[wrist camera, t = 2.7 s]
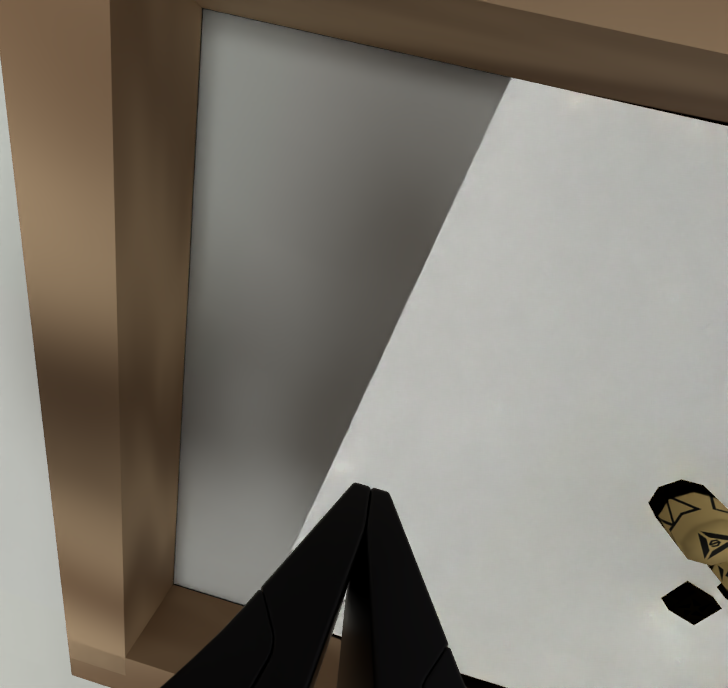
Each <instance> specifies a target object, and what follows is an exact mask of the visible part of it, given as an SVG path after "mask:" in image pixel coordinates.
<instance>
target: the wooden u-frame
mask: <svg viewBox="0 0 728 688" xmlns="http://www.w3.org/2000/svg"><path fill="white" fill-rule="evenodd" d="M202 8H206V9H210V10H215V11H219V12H223V13H228V14H232V15H237V16H241V17H246V18H250V19H254V20H259V21H263V22H268V23H272V24H277V25H281V26H286V27H290V28H294V29H299V30H303V31H308V32H312V33H317V34H321V35H326V36H330V37H334V38H339V39H343V40H348V41H352V42H357V43H361V44H365V45H370V46H374V47H379V48H383V49H388V50H392V51H397V52H401V53H405V54H410V55H414V56H419V57H423V58H428V59H432V60H437V61H441V62H445V63H450V64H454V65H459V66H463V67H468V68H472V69H476V70H481V71H485V72H490V73H494V74H499V75H503V76H508V77H512V78H516V79H521V80H525V81H530V82H534V83H539V84H543V85H548V86H552V87H556V88H561V89H565V90H570V91H574V92H579V93H583V94H587V95H592V96H596V97H601V98H605V99H610V100H614V101H619V102H623V103H627V104H632V105H636V106H641V107H645V108H650V109H654V110H659V111H663V112H667V113H672V114H676V115H681V116H685V117H690V118H694V119H699V120H703V121H707V122H712V123H716V124H721V125H725V126H728V0H0V57H1V65H2V74H3V83H4V91H5V100H6V109H7V117H8V126H9V135H10V143H11V152H12V161H13V169H14V178H15V187H16V195H17V204H18V213H19V221H20V230H21V239H22V247H23V256H24V265H25V273H26V282H27V291H28V299H29V308H30V317H31V325H32V334H33V343H34V351H35V360H36V369H37V377H38V386H39V395H40V403H41V412H42V421H43V429H44V438H45V447H46V455H47V464H48V473H49V481H50V490H51V499H52V507H53V516H54V525H55V533H56V542H57V551H58V559H59V568H60V577H61V585H62V594H63V603H64V611H65V620H66V629H67V637H68V646H69V655H70V663H71V672H72V675H74V676H77V677H80V678H83V679H86V680H89V681H92V682H95V683H98V684H102V685H105V686H108V687H111V688H160V687H161V686H162V685H163V684H165V683H166V682H167V681H168V680H169V679H170V678H171V677H172V676H173V675H174V674H176V673H177V672H178V671H179V670H180V669H181V668H182V667H183V666H184V665H185V664H187V663H188V662H189V661H190V660H191V659H192V658H193V657H194V656H195V655H196V654H197V653H198V652H199V651H201V650H202V649H203V648H204V647H205V646H206V645H207V644H208V643H209V642H210V641H211V640H212V639H213V638H214V637H215V636H216V635H217V634H218V633H219V632H220V631H221V630H222V629H223V628H224V627H225V626H226V625H227V624H228V623H229V622H230V621H231V620H232V619H233V618H234V617H235V616H236V614H237V613H238V612H239V611H240V610H241V609H242V608H243V607H244V606H241V605H238V604H234V603H231V602H228V601H225V600H221V599H218V598H215V597H212V596H208V595H205V594H202V593H199V592H196V591H192V590H189V589H186V588H183V587H179V586H176V585H173V575H174V555H175V535H176V515H177V495H178V475H179V456H180V436H181V416H182V396H183V376H184V356H185V336H186V317H187V297H188V277H189V257H190V237H191V217H192V197H193V178H194V158H195V138H196V118H197V98H198V78H199V58H200V39H201V19H202ZM341 639H342V637H341V636H338V635H335V634H332V636H331V639H330V642H329V645H328V648H327V651H326V654H325V656H324V659H323V662H322V665H321V668H320V671H319V674H318V677H317V680H316V683H315V686H314V688H337V679H338V669H339V659H340V649H341ZM460 674H461V673H460ZM461 677H462V679H463V681H464V684H465V686H466V688H506V687H503V686H500V685H497V684H493V683H490V682H487V681H484V680H480V679H477V678H474V677H471V676H468V675H464V674H461Z"/></svg>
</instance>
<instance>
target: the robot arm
mask: <svg viewBox="0 0 728 688" xmlns="http://www.w3.org/2000/svg"><path fill="white" fill-rule="evenodd" d="M346 590H347V593H346ZM345 593H346V601H345V610H344V619H343V629H342V639H341V649H340V659H339V669H338V679H337V688H466V686H465V684H464V681H463V679H462V677H461V674H460V672H459V669H458V667H457V664H456V662H455V659H454V656H453V654H452V651H451V649H450V648H448V641H447V639H446V636H445V634H444V631H443V629H442V626H441V624H440V621H439V618H438V616H437V613H436V611H435V608H434V606H433V603H432V601H431V598H430V595H429V593H428V590H427V588H426V585H425V583H424V580H423V578H422V575H421V573H420V570H419V567H418V565H417V562H416V560H415V557H414V555H413V552H412V550H411V547H410V544H409V542H408V539H407V537H406V534H405V532H404V529H403V527H402V524H401V521H400V519H399V516H398V514H397V511H396V509H395V506H394V504H393V501H392V498H391V496H390V494H389V493H388V492H387V491H383V490H380V489H376V488H372V489H370V487H369V486H366V485H362V484H359V483H353V484H352V485H351V486H350V487H349V488H348V490H347V491H346V492H345V493H344V494H343V495H342V496H341V497H340V499H339V500H338V501H337V502H336V503H335V504H334V505H333V507H332V508H331V509H330V510H329V511H328V512H327V513H326V514H325V516H324V517H323V518H322V519H321V520H320V521H319V522H318V524H317V525H316V526H315V527H314V528H313V529H312V530H311V531H310V533H309V534H308V535H307V536H306V537H305V538H304V539H303V541H302V542H301V543H300V544H299V545H298V546H297V547H296V548H295V550H294V551H293V552H292V553H291V554H290V555H289V556H288V558H287V559H286V560H285V561H284V562H283V563H282V564H281V565H280V567H279V568H278V569H277V570H276V571H275V572H274V573H273V575H272V576H271V577H270V578H269V579H268V580H267V581H266V582H265V584H264V585H263V586H262V587H261V590H258V591H257V592H256V593H255V595H254V596H253V597H252V598H251V599H250V600H249V601H248V603H247V604H246V605H245V606H244V607H243V608H242V609H241V610H240V611H239V612H238V613H237V614H236V616H235V617H234V618H233V619H232V620H231V621H230V622H229V623H228V624H227V625H226V626H225V627H224V628H223V629H222V630H221V631H220V632H219V633H218V634H217V635H216V636H215V637H214V638H213V639H212V640H211V641H210V642H209V643H208V644H207V645H206V646H205V647H204V648H203V649H202V650H201V651H199V652H198V653H197V654H196V655H195V656H194V657H193V658H192V659H191V660H190V661H189V662H188V663H187V664H185V665H184V666H183V667H182V668H181V669H180V670H179V671H178V672H177V673H176V674H174V675H173V676H172V677H171V678H170V679H169V680H168V681H167V682H166V683H165V684H163V685H162V686H161V687H160V688H314V686H315V683H316V680H317V677H318V674H319V671H320V668H321V665H322V662H323V659H324V656H325V654H326V651H327V648H328V645H329V642H330V639H331V636H332V633H333V630H334V627H335V624H336V621H337V618H338V615H339V612H340V609H341V606H342V603H343V599H344V596H345Z"/></svg>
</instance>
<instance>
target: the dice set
mask: <svg viewBox="0 0 728 688" xmlns="http://www.w3.org/2000/svg"><path fill="white" fill-rule="evenodd" d="M648 503H649V505H650V507H651V509H652V511H653V513H654V515H655V517H656V518H657V520H658V521H659V522H660V524H661V525H662V526H663V528H664V529H665V530H666V531H667V533H668V534H669V535H670V537H671V538H672V539H673V541H674V542H675V543H676V545H677V546H678V547H679V548H680V550H681V551H682V552H683V554H684V555H685V556H686V558H687V559H689V560H693V561H696V562H700V563H704V564H707V565H708V567H709V568H710V569H711V570H712V572H713V573H714V574H715V575H716V576H717V578H718V579H719V580H720V581H721V584H719V585H718V586H717V588H718V590H719V591H720V592H721V593H722V595H723V596H724V597H725V598H726V599H727V600H728V509H727V508H726V507H725V506H724V505H723V504H722V503H721V502H720V501H719V500H718V499H717V498H716V497H715V496H714V495H713V494H712V493H711V492H710V491H709V490H708V489H707V488H706V487H705V486H704V485H701V484H697V483H693V482H689V481H686V480H682V479H681V480H678V481H675V482H672V483H669V484H666V485H663V486H660V487H658V489H657V490H656V492H655V493H654V495H653V496H652V498H651V499H650V501H649V502H648ZM661 599H662V600H663V602H664V603H665V605H666V607H667V608H668V610H670V611H671V612H673V613H675V614H676V615H678V616H680V617H681V618H683V619H685V620H686V621H688V622H689V623H691V624H693V625H695V624H697V623H698V622H700V621H702V620H703V619H705V618H707V617H709V616H710V615H712V614H714V613H715V612H717V611H719V610H720V609H722V608H721V607H720V605H719V604H718V603H717V601H716V600H715V599H714V597H713V596H711V595H710V594H708V593H706V592H705V591H703V590H701V589H700V588H698V587H697V586H695V585H693V584H692V583H690V582H689V581H686V582H685V583H683V584H682V585H680V586H679V587H677V588H676V589H674V590H673V591H671V592H669V593H668V594H666V595H665V596H663V597H662V598H661Z"/></svg>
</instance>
